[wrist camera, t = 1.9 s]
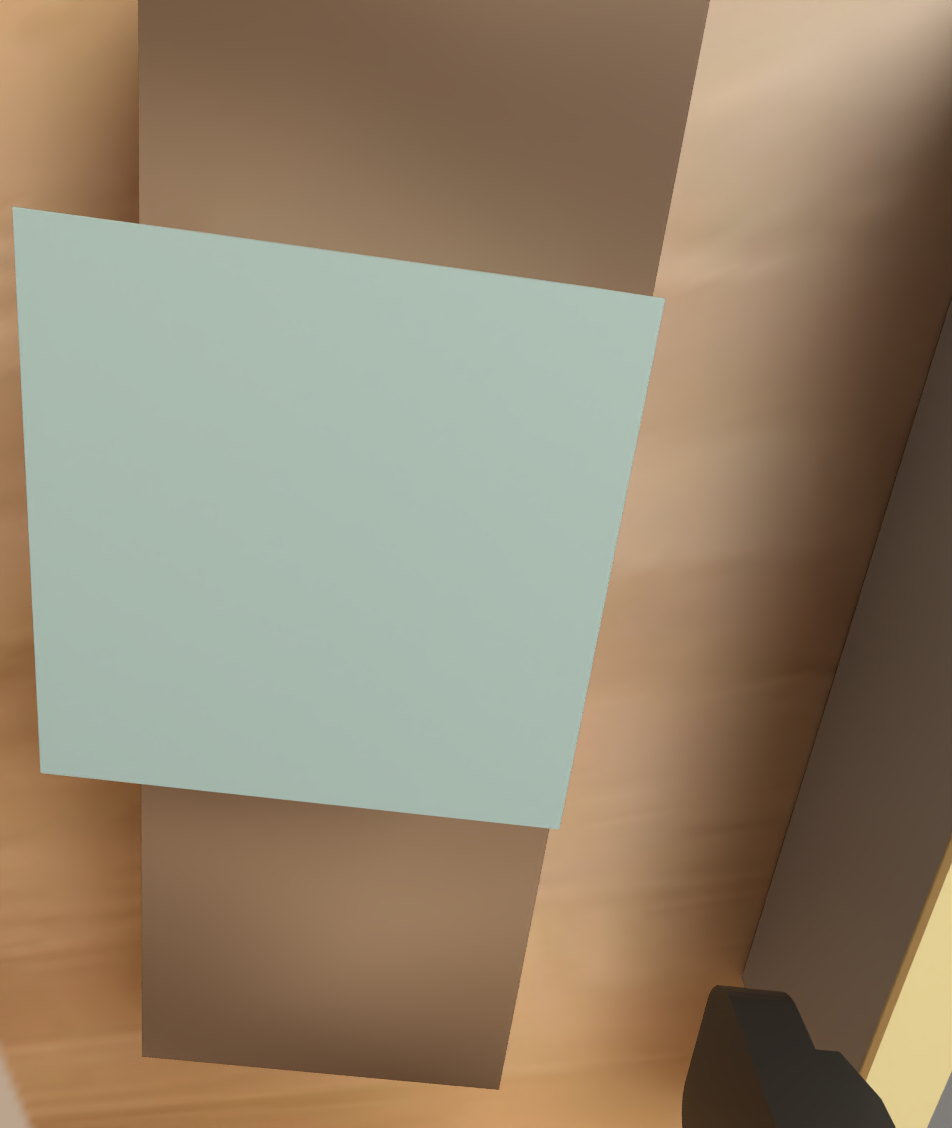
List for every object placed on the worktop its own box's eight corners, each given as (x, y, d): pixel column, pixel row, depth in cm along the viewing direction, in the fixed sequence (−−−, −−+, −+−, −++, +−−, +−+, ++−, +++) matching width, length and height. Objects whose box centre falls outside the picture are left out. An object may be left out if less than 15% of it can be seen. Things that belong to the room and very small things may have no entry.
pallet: (250, -91, 11) (137, -274, 7) (653, -26, 11) (743, -172, 8) (217, 875, 16) (142, 1057, 13) (492, 904, 17) (498, 1089, 13)
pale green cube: (210, 234, 9) (11, 205, 5) (584, 285, 9) (665, 299, 5) (202, 584, 10) (40, 773, 6) (527, 623, 10) (558, 829, 6)
